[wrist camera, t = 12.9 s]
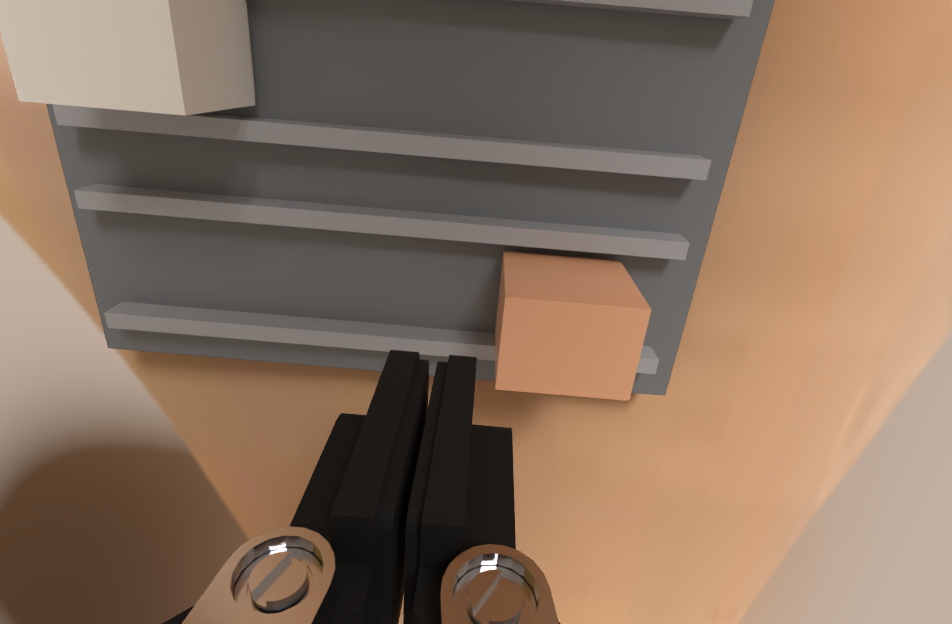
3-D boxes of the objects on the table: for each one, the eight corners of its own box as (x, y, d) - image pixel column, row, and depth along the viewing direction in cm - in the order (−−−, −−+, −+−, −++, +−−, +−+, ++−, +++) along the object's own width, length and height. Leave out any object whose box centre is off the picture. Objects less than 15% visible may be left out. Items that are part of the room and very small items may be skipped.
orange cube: (503, 250, 18) (505, 296, 14) (619, 260, 18) (651, 309, 14) (495, 328, 19) (494, 389, 15) (603, 337, 19) (629, 400, 15)
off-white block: (104, -20, 15) (-22, -49, 11) (244, -8, 15) (163, -33, 11) (126, 94, 16) (19, 101, 12) (255, 105, 16) (185, 115, 12)
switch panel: (43, -112, 16) (-50, -149, 13) (758, -50, 16) (812, -75, 13) (139, 325, 22) (90, 360, 20) (651, 369, 22) (673, 410, 20)
